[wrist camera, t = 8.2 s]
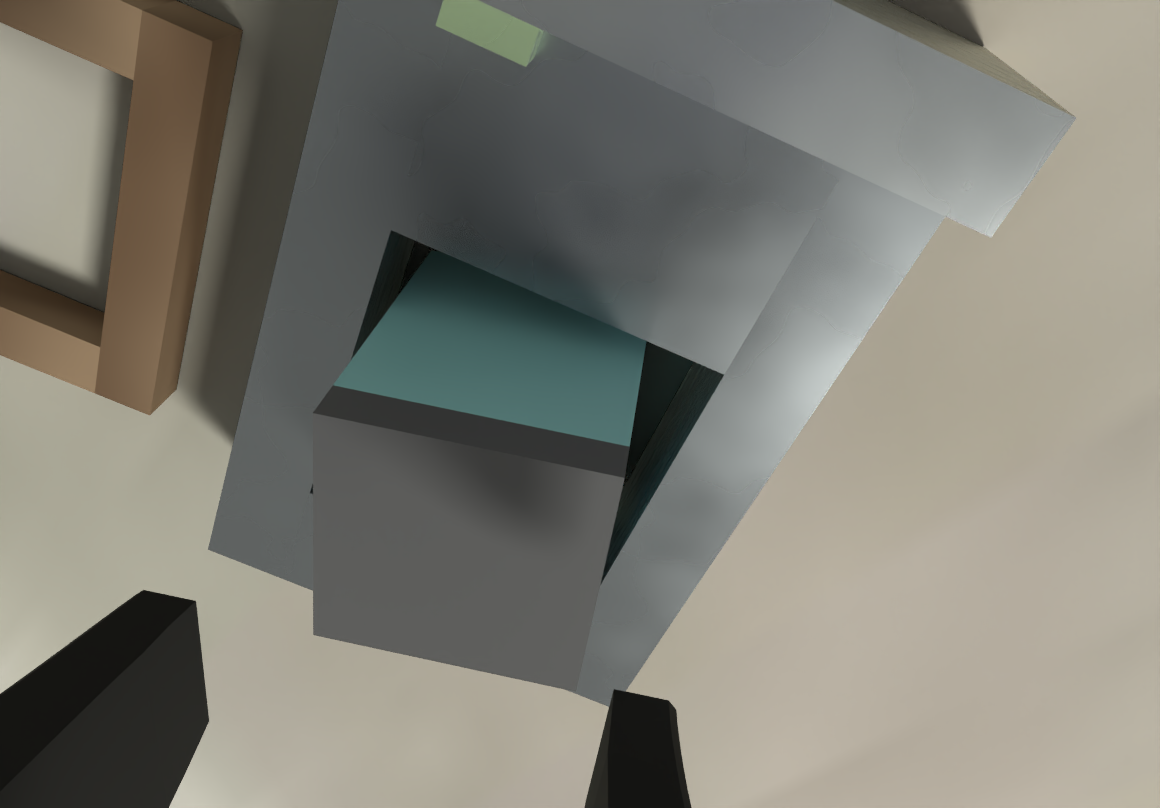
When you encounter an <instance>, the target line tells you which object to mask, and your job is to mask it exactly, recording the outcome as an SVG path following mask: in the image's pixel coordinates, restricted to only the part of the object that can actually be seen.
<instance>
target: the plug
mask: <svg viewBox="0 0 1160 808" xmlns="http://www.w3.org/2000/svg"><path fill="white" fill-rule="evenodd" d="M645 347H646V341H645V340H643V339H641V338H638V337H636V336H634V335H632V334H629V333H627V332H625V331H622V330H620V329H618V328H615V327H613V326H611V325H609V324H606V323H604V322H602V321H599V320H597V319H595V318H592V317H590V316H588V315H585V314H583V313H581V312H579V311H576V310H574V309H572V308H569V307H567V306H565V305H562V304H560V303H558V302H556V301H553V300H551V299H549V298H546V297H544V296H542V295H539V294H537V293H535V292H532V291H530V290H528V289H526V288H523V287H521V286H519V285H516V284H514V283H512V282H509V281H507V280H505V279H503V278H500V277H498V276H496V275H493V274H491V273H489V272H486V271H484V270H482V269H479V268H477V267H475V266H473V265H470V264H468V263H466V262H463V261H461V260H459V259H456V258H454V257H452V256H450V255H447V254H445V253H442V252H437V251H432V250H431V252H430V253H429V254H428V256H427V257H426V258H425V260H424V261H423V263H422V264H421V265H420V267H419V268H418V269H417V271H416V272H415V274H414V275H413V276H412V278H411V279H410V280H409V282H408V283H407V284H406V286H405V287H404V289H403V290H402V291H401V293H400V294H399V295H398V297H397V298H396V300H395V301H394V302H393V304H392V305H391V306H390V308H389V309H388V311H387V312H386V313H385V315H384V316H383V317H382V319H381V320H380V321H379V323H378V324H377V326H376V327H375V328H374V330H373V331H372V332H371V334H370V335H369V337H368V338H367V339H366V341H365V342H364V343H363V345H362V346H361V348H360V349H359V350H358V352H357V353H356V354H355V356H354V357H353V358H352V360H351V361H350V363H349V364H348V365H347V367H346V368H345V369H344V371H343V372H342V374H341V375H340V376H339V378H338V379H337V380H336V382H335V383H334V385H333V386H332V387H331V389H330V390H329V391H328V393H327V394H326V395H325V397H324V398H323V400H322V401H321V402H320V404H319V405H318V406H317V408H316V409H315V411H314V412H313V635H316V636H321V637H325V638H330V639H335V640H339V641H344V642H349V643H353V644H358V645H362V646H367V647H372V648H376V649H381V650H386V651H390V652H395V653H399V654H404V655H409V656H413V657H418V658H423V659H427V660H432V661H436V662H441V663H446V664H450V665H455V666H460V667H464V668H469V669H473V670H478V671H483V672H487V673H492V674H497V675H501V676H506V677H510V678H515V679H520V680H524V681H529V682H533V683H538V684H543V685H547V686H552V687H557V688H561V689H566V690H570V691H575V692H576V690H577V685H578V681H579V677H580V672H581V668H582V663H583V659H584V655H585V650H586V646H587V641H588V637H589V633H590V628H591V624H592V619H593V615H594V611H595V606H596V602H597V597H598V593H599V589H600V584H601V580H602V576H603V571H604V567H605V562H606V558H607V554H608V549H609V545H610V540H611V536H612V532H613V527H614V523H615V518H616V514H617V510H618V505H619V501H620V496H621V492H622V488H623V483H624V479H625V473H626V467H627V460H628V454H629V448H630V441H631V435H632V429H633V423H634V416H635V410H636V404H637V397H638V391H639V385H640V379H641V372H642V366H643V360H644V353H645Z"/></svg>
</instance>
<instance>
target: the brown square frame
mask: <svg viewBox="0 0 1160 808" xmlns="http://www.w3.org/2000/svg"><path fill="white" fill-rule="evenodd" d="M0 22H1V23H4V24H6V25H8V26H10V27H13V28H15V29H17V30H19V31H22V32H24V33H26V34H29V35H31V36H33V37H35V38H38V39H40V40H42V41H45V42H47V43H49V44H51V45H54V46H56V47H58V48H61V49H63V50H65V51H67V52H70V53H72V54H74V55H77V56H79V57H81V58H83V59H86V60H88V61H90V62H93V63H95V64H97V65H99V66H102V67H104V68H106V69H109V70H111V71H113V72H115V73H118V74H120V75H122V76H125V77H127V78H129V79H131V80H133V88H132V96H131V104H130V112H129V120H128V128H127V136H126V145H125V153H124V161H123V169H122V177H121V185H120V193H119V201H118V209H117V217H116V225H115V233H114V241H113V249H112V257H111V265H110V273H109V281H108V290H107V298H106V306H105V313H103V312H101V311H99V310H96V309H94V308H91V307H89V306H86V305H84V304H82V303H79V302H77V301H74V300H72V299H70V298H67V297H65V296H62V295H60V294H57V293H55V292H53V291H50V290H48V289H45V288H43V287H40V286H38V285H36V284H33V283H31V282H28V281H26V280H23V279H21V278H19V277H16V276H14V275H11V274H9V273H6V272H4V271H2V270H0V355H1V356H4V357H6V358H9V359H11V360H14V361H16V362H19V363H21V364H24V365H26V366H29V367H31V368H34V369H36V370H39V371H41V372H44V373H46V374H49V375H51V376H53V377H56V378H58V379H61V380H63V381H66V382H68V383H71V384H73V385H76V386H78V387H81V388H83V389H86V390H88V391H91V392H93V393H96V394H98V395H101V396H103V397H105V398H108V399H110V400H113V401H115V402H118V403H120V404H123V405H125V406H128V407H130V408H133V409H135V410H138V411H140V412H143V413H145V414H148V415H151V414H152V413H153V412H154V411H155V410H156V409H157V408H158V407H159V406H160V405H161V404H162V403H163V402H164V401H165V400H166V399H167V398H168V397H169V396H170V395H171V394H172V393H173V392H174V391H175V390H176V388H177V383H178V377H179V372H180V367H181V361H182V356H183V350H184V345H185V340H186V334H187V329H188V323H189V318H190V313H191V307H192V302H193V296H194V291H195V285H196V280H197V275H198V269H199V264H200V258H201V253H202V248H203V242H204V237H205V231H206V226H207V221H208V215H209V210H210V204H211V199H212V194H213V188H214V183H215V177H216V172H217V166H218V161H219V156H220V150H221V145H222V139H223V134H224V129H225V123H226V118H227V112H228V107H229V102H230V96H231V91H232V85H233V80H234V75H235V69H236V64H237V58H238V53H239V48H240V42H241V37H242V31H243V30H241V29H239V28H236V27H234V26H232V25H230V24H228V23H225V22H223V21H221V20H219V19H216V18H214V17H212V16H210V15H207V14H205V13H203V12H201V11H199V10H196V9H194V8H192V7H190V6H187V5H185V4H183V3H181V2H178V1H176V0H0Z"/></svg>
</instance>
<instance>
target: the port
mask: <svg viewBox="0 0 1160 808" xmlns="http://www.w3.org/2000/svg"><path fill="white" fill-rule="evenodd" d="M1075 119H1076V117H1075V116H1073V115H1072V114H1071V113H1069V112H1068V111H1067V110H1066V109H1064V108H1063V107H1062V106H1060V105H1059V104H1058V103H1056V102H1055V101H1054V100H1052V99H1051V98H1050V97H1049V96H1047V95H1046V94H1045V93H1043V92H1042V91H1041V90H1039V89H1038V88H1037V87H1036V86H1034V85H1033V84H1032V83H1030V82H1029V81H1028V80H1026V79H1025V78H1024V77H1023V76H1021V75H1020V74H1019V73H1017V72H1016V71H1015V70H1013V69H1012V68H1011V67H1009V66H1008V65H1007V64H1006V63H1004V62H1003V61H1002V60H1000V59H999V58H998V57H996V56H995V55H994V54H993V53H991V52H990V51H989V50H987V49H986V48H984V47H982V46H980V45H978V44H976V43H973V42H971V41H969V40H967V39H965V38H963V37H961V36H959V35H957V34H955V33H953V32H951V31H949V30H947V29H945V28H943V27H940V26H938V25H936V24H934V23H932V22H930V21H928V20H926V19H924V18H922V17H920V16H918V15H916V14H914V13H912V12H909V11H907V10H905V9H903V8H901V7H899V6H897V5H895V4H893V3H891V2H889V1H887V0H338V4H337V8H336V12H335V16H334V21H333V25H332V29H331V33H330V38H329V42H328V46H327V50H326V54H325V59H324V63H323V67H322V71H321V76H320V80H319V84H318V88H317V92H316V97H315V101H314V105H313V109H312V113H311V118H310V122H309V126H308V130H307V135H306V139H305V143H304V147H303V151H302V156H301V160H300V164H299V168H298V173H297V177H296V181H295V185H294V189H293V194H292V198H291V202H290V206H289V210H288V215H287V219H286V223H285V227H284V232H283V236H282V240H281V244H280V248H279V253H278V257H277V261H276V265H275V269H274V274H273V278H272V282H271V286H270V291H269V295H268V299H267V303H266V307H265V312H264V316H263V320H262V324H261V329H260V333H259V337H258V341H257V345H256V350H255V354H254V358H253V362H252V366H251V371H250V375H249V379H248V383H247V388H246V392H245V396H244V400H243V404H242V409H241V413H240V417H239V421H238V425H237V430H236V434H235V438H234V442H233V447H232V451H231V455H230V459H229V463H228V468H227V472H226V476H225V480H224V485H223V489H222V493H221V497H220V501H219V506H218V510H217V514H216V518H215V522H214V527H213V531H212V535H211V539H210V544H209V548H208V550H211V551H213V552H216V553H218V554H221V555H223V556H226V557H229V558H231V559H234V560H236V561H239V562H241V563H244V564H246V565H249V566H252V567H254V568H257V569H259V570H262V571H264V572H267V573H269V574H272V575H275V576H277V577H280V578H282V579H285V580H287V581H290V582H292V583H295V584H297V585H300V586H303V587H305V588H308V589H310V590H313V412H314V411H315V409H316V408H317V406H318V405H319V404H320V402H321V401H322V400H323V398H324V397H325V395H326V394H327V393H328V391H329V390H330V389H331V387H332V386H333V385H334V383H335V382H336V380H337V379H338V378H339V376H340V375H341V374H342V372H343V371H344V369H345V368H346V367H347V365H348V364H349V363H350V361H351V360H352V358H353V357H354V356H355V354H356V353H357V352H358V350H359V349H360V348H361V346H362V345H363V343H364V342H365V341H366V339H367V338H368V337H369V335H370V334H371V332H372V331H373V330H374V328H375V327H376V326H377V324H378V323H379V321H380V320H381V319H382V317H383V316H384V315H385V313H386V312H387V311H388V309H389V308H390V306H391V305H392V304H393V302H394V301H395V300H396V298H397V295H398V291H399V288H400V285H401V282H402V279H403V276H404V273H405V270H406V267H407V264H408V261H409V258H410V255H411V252H412V249H413V246H414V243H415V241H417V242H420V243H422V244H424V245H426V246H429V247H431V248H433V249H436V250H438V251H440V252H443V253H445V254H447V255H450V256H452V257H454V258H456V259H459V260H461V261H463V262H466V263H468V264H470V265H473V266H475V267H477V268H479V269H482V270H484V271H486V272H489V273H491V274H493V275H496V276H498V277H500V278H503V279H505V280H507V281H509V282H512V283H514V284H516V285H519V286H521V287H523V288H526V289H528V290H530V291H532V292H535V293H537V294H539V295H542V296H544V297H546V298H549V299H551V300H553V301H556V302H558V303H560V304H562V305H565V306H567V307H569V308H572V309H574V310H576V311H579V312H581V313H583V314H585V315H588V316H590V317H592V318H595V319H597V320H599V321H602V322H604V323H606V324H609V325H611V326H613V327H615V328H618V329H620V330H622V331H625V332H627V333H629V334H632V335H634V336H636V337H638V338H641V339H643V340H645V341H648V342H650V343H652V344H655V345H657V346H659V347H661V348H664V349H666V350H668V351H671V352H673V353H675V354H678V355H680V356H682V357H685V358H687V359H689V360H691V361H694V362H693V364H692V366H691V368H690V370H689V371H688V373H687V375H686V377H685V378H684V380H683V382H682V384H681V386H680V387H679V389H678V391H677V393H676V395H675V396H674V398H673V400H672V402H671V403H670V405H669V407H668V409H667V411H666V412H665V414H664V416H663V418H662V419H661V421H660V423H659V425H658V427H657V428H656V430H655V432H654V434H653V436H652V437H651V439H650V441H649V443H648V444H647V446H646V448H645V450H644V452H643V453H642V455H641V457H640V459H639V460H638V462H637V464H636V466H635V468H634V469H633V471H632V473H631V475H630V477H629V478H628V480H627V482H626V484H625V485H624V487H623V489H622V492H621V496H620V501H619V505H618V510H617V514H616V518H615V523H614V527H613V532H612V536H611V540H610V545H609V549H608V554H607V558H606V562H605V567H604V571H603V576H602V580H601V584H600V589H599V593H598V597H597V602H596V606H595V611H594V615H593V619H592V624H591V628H590V633H589V637H588V641H587V646H586V650H585V655H584V659H583V663H582V668H581V672H580V677H579V681H578V685H577V690H576V692H575V691H570V690H568V691H570V692H573V693H575V694H578V695H581V696H583V697H586V698H588V699H591V700H593V701H596V702H598V703H601V704H603V705H606V706H610V702H611V698H612V694H613V690H614V689H616V690H621V691H626V690H627V688H628V687H629V685H630V684H631V682H632V681H633V679H634V678H635V676H636V675H637V673H638V672H639V670H640V669H641V667H642V666H643V665H644V663H645V662H646V660H647V659H648V657H649V656H650V654H651V653H652V651H653V650H654V648H655V647H656V645H657V644H658V642H659V641H660V639H661V638H662V636H663V635H664V633H665V632H666V630H667V629H668V627H669V626H670V624H671V623H672V621H673V620H674V619H675V617H676V616H677V614H678V613H679V611H680V610H681V608H682V607H683V605H684V604H685V602H686V601H687V599H688V598H689V596H690V595H691V593H692V592H693V590H694V589H695V587H696V586H697V584H698V583H699V581H700V580H701V578H702V577H703V575H704V574H705V572H706V571H707V570H708V568H709V567H710V565H711V564H712V562H713V561H714V559H715V558H716V556H717V555H718V553H719V552H720V550H721V549H722V547H723V546H724V544H725V543H726V541H727V540H728V538H729V537H730V535H731V534H732V532H733V531H734V529H735V528H736V526H737V525H738V523H739V522H740V521H741V519H742V518H743V516H744V515H745V513H746V512H747V510H748V509H749V507H750V506H751V504H752V503H753V501H754V500H755V498H756V497H757V495H758V494H759V492H760V491H761V489H762V488H763V486H764V485H765V483H766V482H767V480H768V479H769V477H770V476H771V474H772V473H773V472H774V470H775V469H776V467H777V466H778V464H779V463H780V461H781V460H782V458H783V457H784V455H785V454H786V452H787V451H788V449H789V448H790V446H791V445H792V443H793V442H794V440H795V439H796V437H797V436H798V434H799V433H800V431H801V430H802V428H803V427H804V425H805V424H806V423H807V421H808V420H809V418H810V417H811V415H812V414H813V412H814V411H815V409H816V408H817V406H818V405H819V403H820V402H821V400H822V399H823V397H824V396H825V394H826V393H827V391H828V390H829V388H830V387H831V385H832V384H833V382H834V381H835V379H836V378H837V376H838V375H839V374H840V372H841V371H842V369H843V368H844V366H845V365H846V363H847V362H848V360H849V359H850V357H851V356H852V354H853V353H854V351H855V350H856V348H857V347H858V345H859V344H860V342H861V341H862V339H863V338H864V336H865V335H866V333H867V332H868V330H869V329H870V328H871V326H872V325H873V323H874V322H875V320H876V319H877V317H878V316H879V314H880V313H881V311H882V310H883V308H884V307H885V305H886V304H887V302H888V301H889V299H890V298H891V296H892V295H893V293H894V292H895V290H896V289H897V287H898V286H899V284H900V283H901V281H902V280H903V279H904V277H905V276H906V274H907V273H908V271H909V270H910V268H911V267H912V265H913V264H914V262H915V261H916V259H917V258H918V256H919V255H920V253H921V252H922V250H923V249H924V247H925V246H926V244H927V243H928V241H929V240H930V238H931V237H932V235H933V234H934V232H935V231H936V230H937V228H938V227H939V225H940V224H941V222H942V221H943V219H944V218H945V217H947V218H949V219H952V220H954V221H956V222H958V223H960V224H962V225H965V226H967V227H969V228H971V229H973V230H975V231H978V232H980V233H982V234H984V235H986V236H988V237H992V235H993V234H994V233H995V231H996V230H997V228H998V227H999V226H1000V224H1001V223H1002V221H1003V220H1004V219H1005V217H1006V216H1007V214H1008V213H1009V212H1010V210H1011V209H1012V207H1013V206H1014V205H1015V203H1016V202H1017V200H1018V199H1019V198H1020V196H1021V195H1022V193H1023V192H1024V191H1025V189H1026V188H1027V186H1028V185H1029V184H1030V182H1031V181H1032V179H1033V178H1034V177H1035V175H1036V174H1037V172H1038V171H1039V170H1040V168H1041V167H1042V165H1043V164H1044V163H1045V161H1046V160H1047V158H1048V157H1049V156H1050V154H1051V153H1052V151H1053V150H1054V149H1055V147H1056V146H1057V144H1058V143H1059V142H1060V140H1061V139H1062V137H1063V136H1064V135H1065V133H1066V132H1067V130H1068V129H1069V128H1070V126H1071V125H1072V123H1073V122H1074V121H1075ZM565 690H566V689H565Z"/></svg>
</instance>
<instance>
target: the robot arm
mask: <svg viewBox="0 0 1160 808" xmlns="http://www.w3.org/2000/svg"><path fill="white" fill-rule="evenodd" d="M208 722H209V716H208V707H207V698H206V689H205V680H204V671H203V662H202V652H201V643H200V634H199V625H198V616H197V607H196V601H193V600H188V599H184V598H179V597H174V596H169V595H165V594H160V593H155V592H150V591H146V590H143V591H141V592H140V593H138V594H136V595H135V596H133V597H132V598H131V599H129V600H128V601H127V602H125V603H124V604H122V605H121V606H120V607H118V608H117V609H116V610H114V611H113V612H111V613H110V614H109V615H107V616H106V617H105V618H103V619H102V620H101V621H99V622H98V623H97V624H95V625H94V626H92V627H91V628H90V629H88V630H87V631H86V632H84V633H83V634H82V635H80V636H79V637H78V638H76V639H75V640H74V641H72V642H71V643H69V644H68V645H67V646H65V647H64V648H63V649H61V650H60V651H59V652H57V653H56V654H55V655H53V656H52V657H50V658H49V659H48V660H46V661H45V662H44V663H42V664H41V665H40V666H38V667H37V668H35V669H34V670H33V671H31V672H30V673H29V674H27V675H26V676H24V677H23V678H22V679H20V680H19V681H18V682H16V683H15V684H13V685H12V686H11V687H9V688H8V689H6V690H5V691H3V692H2V693H1V694H0V808H169V806H170V804H171V802H172V800H173V797H174V795H175V793H176V791H177V789H178V787H179V785H180V783H181V781H182V779H183V777H184V775H185V773H186V770H187V768H188V766H189V764H190V762H191V760H192V757H193V755H194V753H195V751H196V749H197V746H198V744H199V742H200V740H201V737H202V735H203V733H204V731H205V729H206V726H207V724H208ZM585 808H691V804H690V799H689V794H688V790H687V784H686V779H685V773H684V768H683V762H682V755H681V749H680V741H679V734H678V725H677V713H676V709H675V708H674V707H673V705H672V704H671V703H670V702H669V701H668V700H663V699H659V698H654V697H649V696H644V695H640V694H635V693H630V692H625V691H621V690H616V689H614V690H613V694H612V698H611V702H610V706H609V710H608V714H607V718H606V722H605V726H604V730H603V734H602V738H601V742H600V747H599V751H598V755H597V759H596V763H595V767H594V771H593V775H592V779H591V783H590V787H589V791H588V795H587V799H586V803H585Z"/></svg>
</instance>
